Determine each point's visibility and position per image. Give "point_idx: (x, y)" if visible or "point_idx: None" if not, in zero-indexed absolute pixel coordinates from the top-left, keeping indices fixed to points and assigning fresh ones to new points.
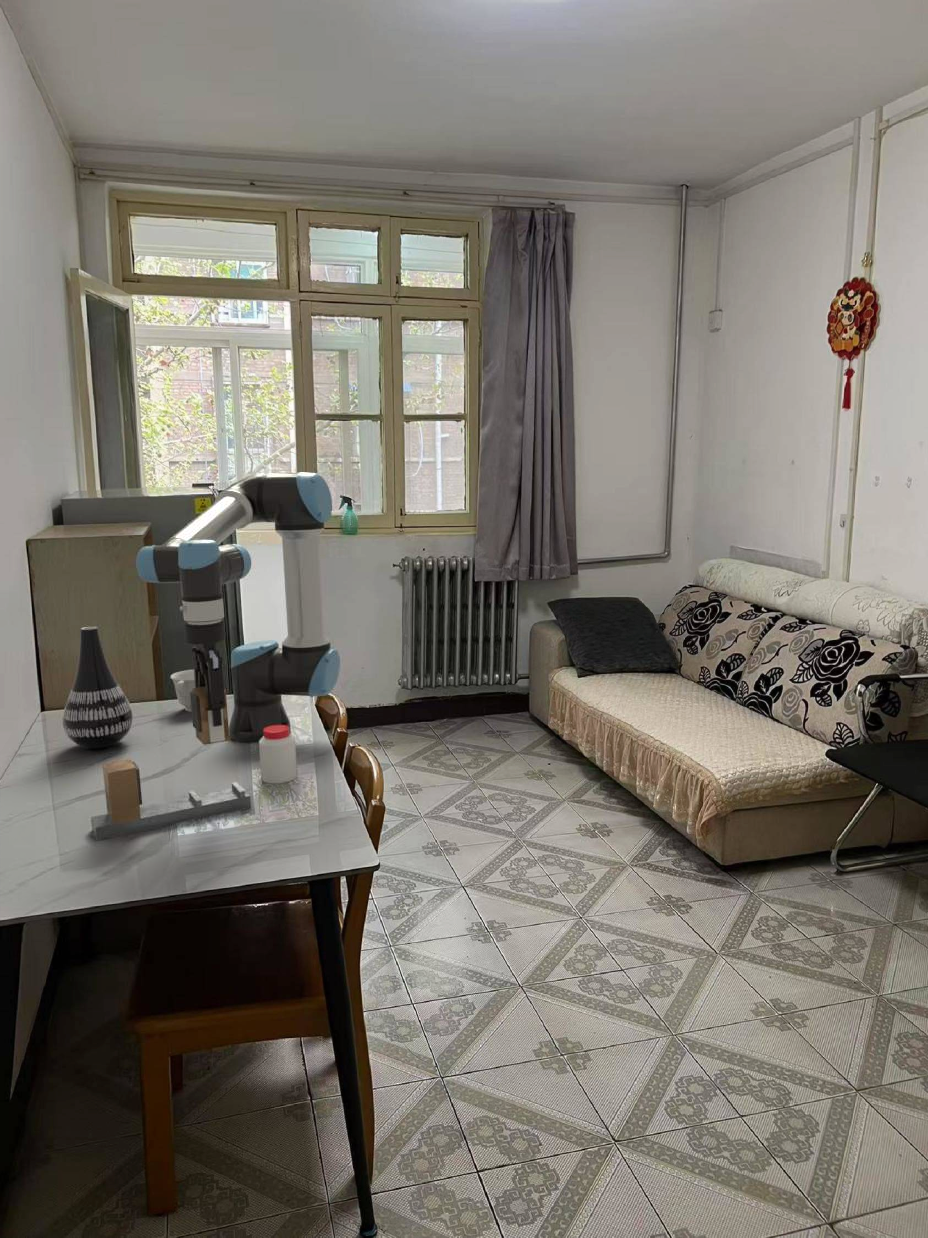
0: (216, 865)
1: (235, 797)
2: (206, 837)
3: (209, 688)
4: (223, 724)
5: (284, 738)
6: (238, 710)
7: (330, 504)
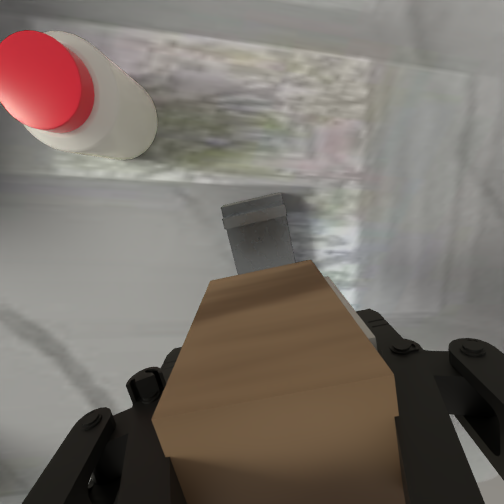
0: (500, 261)
1: (279, 223)
2: (383, 273)
3: None
4: (345, 300)
5: (87, 66)
6: None
7: None
